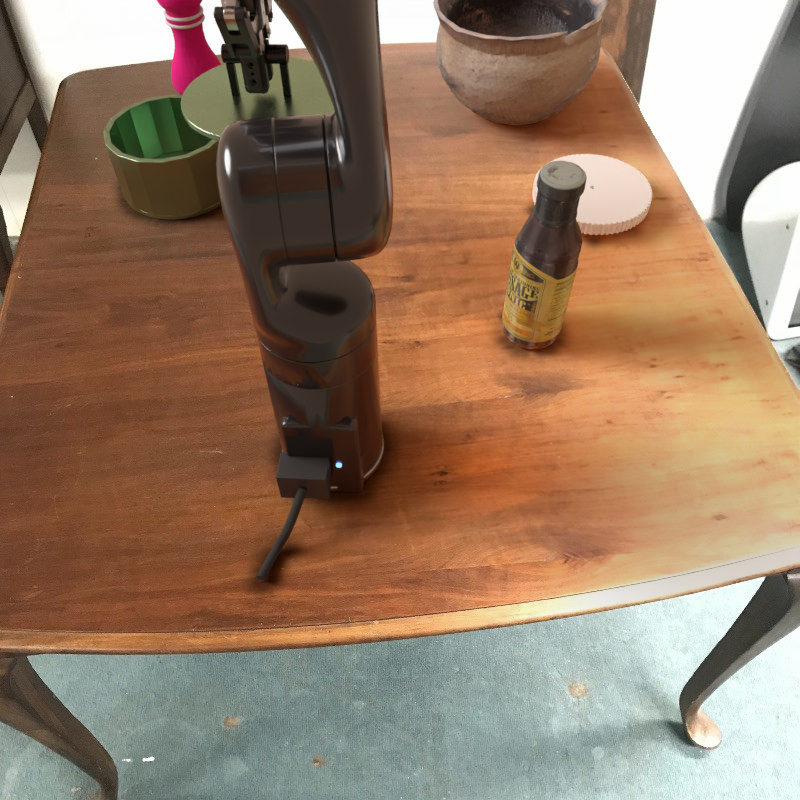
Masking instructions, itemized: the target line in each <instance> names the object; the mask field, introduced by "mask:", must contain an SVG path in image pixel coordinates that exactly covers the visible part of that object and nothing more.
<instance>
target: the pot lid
mask: <svg viewBox="0 0 800 800" xmlns="http://www.w3.org/2000/svg"><path fill="white" fill-rule="evenodd" d="M264 45H265V58H266V64H272V66H273V73H274V74H273V77H272V80H270V81H269V84H270V87H269V90H268V92H267V93H265V94H260V93H248V92H247V91H246V89H245V85H244V79H243V74H242V68H241V62H240V57H237V58H231V56H230V54H229V52H228V49H227V47H226V45H225V43H222V44H221V46H220V56H221V61H222V63H223V64H222V63H221V65H219V66H217V67H215V68H212V69H210V70H208V71H206V72H205V73H203V74H201V75H200V76H199V77H197V78H196V79H195V80H194V81H192V82H191V83H190V84H189V86H188V87H187V88H186V90H185V91H184V93H183V96H182V99H181V109H182V113H183V116H184V118H185V121H186V122H187V123H188V124H189V126H190V127H192V128H193V129H194V130H195V131H197V132H198V133H200V134H201V135H203V136H206V137H208V138H210V139H213V140H216V141H219V139H220V136H221V134H222V133H223V131H224V129H225V128H226V127H227V126H228V125H229V124H231V123H233V122H235V121H239V120H246V119H256V118H268V117H273V118H274V117H283V116H297V115H312V114H322V117H324V114H329V113H333V112H334V111H335V110H334V107H333V104H332V102H331V99H330V96H329V94H328V91H327V89H326V86H325V84H324V81H323V79H322V77H321V75H320V73H319V71H318V69H317V67H316V65H315V63H314V61H311V60H307V59H303V58H300V57H294V56H290V50H289V45H288V44H285V43H284V44H282V43H281V44H280V43H276V44H275V43H269V44H264Z"/></svg>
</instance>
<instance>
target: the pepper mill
mask: <svg viewBox="0 0 800 800" xmlns="http://www.w3.org/2000/svg"><path fill="white" fill-rule="evenodd" d="M156 1H157V3H158V5H159V6H160V7H162V8H163V9H164V11H163V16H164V18H165V20H164V21H165V24H166V25H167V26H168V27H169V28H170V29H171V32H172V36H173V42H174V49H173V55H172V61H171V66H170V78H171V84H172V87H173V89H174V90H175V92H177V93H178V95H183V93H184V91H185V90H186V88H187V87H188V86H189V84H190V83H191V82H192V81H194V80H195V79H196V78H197V77H199V76H200V75H201V74H203V73H205V72H206V71H208V70H210V69H212V68H215V67H217V66H219V65H222V63H221V61H220V59H219V58H218V57H217V55H216V53H215V52H214V51H213V49H212V48H211V46H210V45H209V43H208V41H207V39H206V35H205V32H204V26H203V23H204V21H205V19H206V16H205V13H204V8H203V6H202V5H201V4H202V2H203V0H156Z"/></svg>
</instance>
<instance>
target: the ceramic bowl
mask: <svg viewBox="0 0 800 800" xmlns="http://www.w3.org/2000/svg"><path fill="white" fill-rule="evenodd" d="M610 1H611V0H433V8H434V10H435V13H436V15H437V18H438V21H439V25H438V29H437V32H436V42H435V48H436V49H435V54H436V62H437V66H438V69H439V73H440V75H441V77H442V79H443V81H444V83H445V84H446V85H447V87H448V89H449V90H450V91H451V93H452V94H453V96H454V97H455V98H456V100H457V101H458V102H460V103H461V104H462V105H463V106H465V107H466V108H467V109H468V110H470V111H471V112H473V113H474V114H476V115H478V116H480V117H481V118H484V119H486V120H488V121H491V122H495V123H497V124H503V125H509V126H510V125H511V126H522V125H529V124H530V125H531V124H535V123H539V122H541V121H544V120H546V119H548V118H551V117H554V116H555V115H557V114H559V113H560V112H562V111H563V110H564V109H565V108H566V107H567V106H569V105H570V104H571V103H572V102H573V101H575V100H576V99H577V98H578V97H579V96H580V95H581V94H582V92H583V91H584V90H585V88H586V87H587V86H588V84H589V82H590V80H591V78H592V77H593V75H594V73H595V71H596V69H597V66H598V63H599V60H600V56H601V55H600V53H601V47H602V40H603V39H602V38H603V37H602V35H603V34H602V32H603V31H602V29H603V28H602V22H603V19H604V18H605V16H606V12H607V10H608V7H609V4H610Z"/></svg>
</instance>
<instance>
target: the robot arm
mask: <svg viewBox="0 0 800 800" xmlns="http://www.w3.org/2000/svg"><path fill="white" fill-rule="evenodd" d="M272 1H274V2H275V4H276V5H277V7H278V8H279V9H280V11H281V12H282V14H283V15H284V16H285V18H286V19H287V20H288V22H289V23H290V25H291V26H292V28H293V29H294V31H295V32H296V34H297V36H298V37H299V39H300V40H301V42H302V44H303V45H304V47H305V49H306V50H307V52H308V54H309V56H310V57H311V59H312V62H314V63H315V65H316V67H317V69H318V71H319V73H320V75H321V77H322V79H323V81H324V84H325V86H326V89H327V91H328V94H329V96H330V99H331V102H332V104H333V107H334V110H335V111H334V112H333V113H329V114H324V117H322V114H312V115H297V116H283V117H274V118H273V117H268V118H256V119H246V120H239V121H235V122H233V123H231V124H229V125H228V126H227V127H226V128H225V129H224V131H223V133H222V134H221V136H220V139H219V143H218V147H217V154H216V176H217V184H218V190H219V196H220V202H221V206H220V207H221V210H222V214H223V217H224V221H225V225H226V229H227V232H228V235H229V239H230V242H231V245H232V248H233V251H234V255H235V258H236V262H237V264H238V268H239V271H240V274H241V278H242V281H243V284H244V289H245V293H246V297H247V301H248V305H249V309H250V313H251V317H252V321H253V325H254V330H255V334H256V339H257V343H258V347H259V351H260V357H261V361H262V366H263V370H264V375H265V379H266V384H267V389H268V393H269V397H270V402H271V406H272V411H273V416H274V419H275V424H276V428H277V429H276V430H277V433H278V437H279V441H280V442H279V443H280V447H281V452H280V455H279V459H278V465H277V470H276V476H275V479H276V483H277V487H278V491H279V496H280V497H281V498H291V499H293V501H292V504H291V507H290V510H289V512H288V515H287V518H286V521H285V523H284V525H283V527H282V530H281V532H280V533H279V535H278V537H277V538H276V540H275V541H274V543H273V545H272V547H271V549H270V551H269V552H268V554H267V556H266V558H265V560H264V562H263V564H262V565H261V567H260V569H259V570H258V572H257V574H256V578H257V579H258V580H260V581H262V582H264V581H266V579H267V578H268V575H270V572H271V570H272V568H273V567H274V564H275V562H276V561H277V559H278V557H279V555H280V553H281V551H282V549H283V548H284V546H285V545H286V543H287V541H288V539H290V536H291V534H292V532H293V529H294V527H295V525H296V522H297V520H298V517H299V515H300V512H301V509H302V506H303V503H304V501H305V499H307V500H308V499H311V500H330V496H331V492H344V493H362V492H363V489H364V482H365V481H367V480H368V479H369V478H370V477H372V475H374V473H375V472H376V471H377V470H378V468H379V467H380V465H381V463H382V460H383V457H384V452H385V440H384V434H383V421H382V403H381V385H380V367H379V364H380V363H379V349H378V326H377V325H378V324H377V300H376V299H377V298H376V294H375V289H374V286H373V283H372V282H371V279H370V277H369V276H368V274H367V273H366V272H365V271H364V270H363V269H362V268H361V267H360V266H358V265H357V264H356V263H354V262H353V261H358V260H363V259H367V258H371V257H375V256H377V255H379V254H380V253H381V252H383V250H384V249H385V248H386V246H387V245H388V242H389V239H390V237H391V233H392V228H393V218H394V182H393V169H392V167H393V166H392V155H391V143H390V133H389V124H388V112H387V101H386V91H385V78H384V68H383V67H384V66H383V57H382V56H383V55H382V46H381V45H382V44H381V33H380V18H379V0H220V3H221V4H220V5H221V6H214V10H213V18H214V20H215V23H216V26H217V28H218V31H219V33H220V35H221V37H222V40H223V42H224V44H225V45H226V47H227V49H228V52H229V54H230V56H231V58H237V57H240V62H241V68H242V74H243V79H244V85H245V89H246V91H247V92H248V93H260V94H265V93H267V92H268V90H269V87H270V84H269V81H270V80H272V77H273V74H274V73H273V66H272V64H266V58H265V45H264V44H270V40H269V39H270V38H271V35H272V29H271V26H270V23H272V22H273V18H274V13H273V2H272Z"/></svg>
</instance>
